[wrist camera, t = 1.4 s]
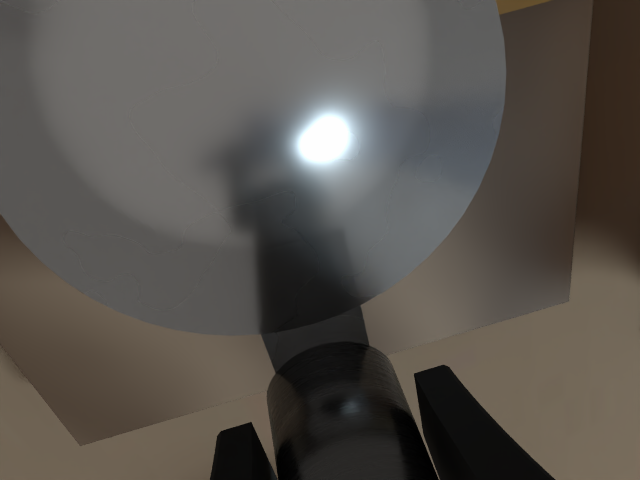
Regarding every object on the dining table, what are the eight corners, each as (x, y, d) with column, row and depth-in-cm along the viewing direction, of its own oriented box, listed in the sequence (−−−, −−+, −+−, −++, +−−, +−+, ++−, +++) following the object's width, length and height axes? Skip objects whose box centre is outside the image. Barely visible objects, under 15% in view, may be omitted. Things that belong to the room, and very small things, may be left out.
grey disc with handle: (-112, -104, 8) (-546, -49, 3) (434, -241, 8) (759, -372, 4) (175, 402, 14) (170, 658, 10) (469, 315, 15) (598, 524, 10)
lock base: (573, -817, 8) (790, -1197, 5) (537, 264, 20) (596, 333, 17) (-591, -572, 7) (-1094, -851, 4) (89, 395, 19) (72, 490, 16)
